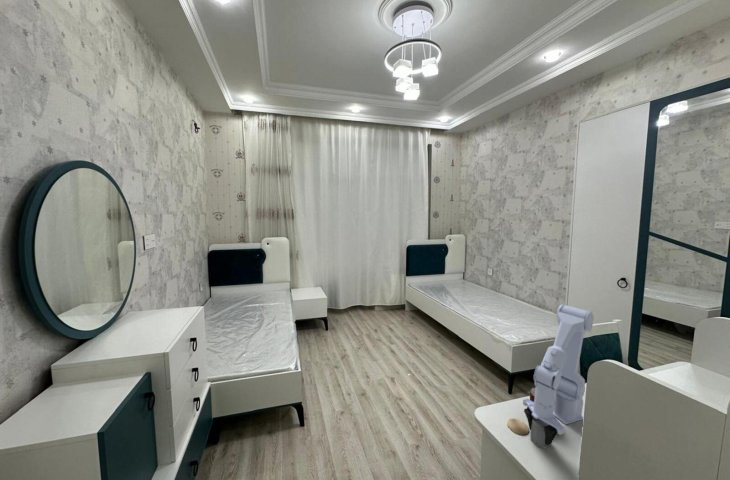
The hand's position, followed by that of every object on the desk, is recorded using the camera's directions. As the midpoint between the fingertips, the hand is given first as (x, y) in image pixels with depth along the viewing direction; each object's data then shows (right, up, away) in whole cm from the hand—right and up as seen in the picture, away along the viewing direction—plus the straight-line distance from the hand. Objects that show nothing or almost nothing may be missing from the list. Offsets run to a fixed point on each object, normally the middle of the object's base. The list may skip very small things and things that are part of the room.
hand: (540, 436), depth 100 cm
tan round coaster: (-5, -1, +6) cm, 8 cm away
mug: (+5, 0, +10) cm, 11 cm away
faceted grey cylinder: (0, -2, 0) cm, 2 cm away
